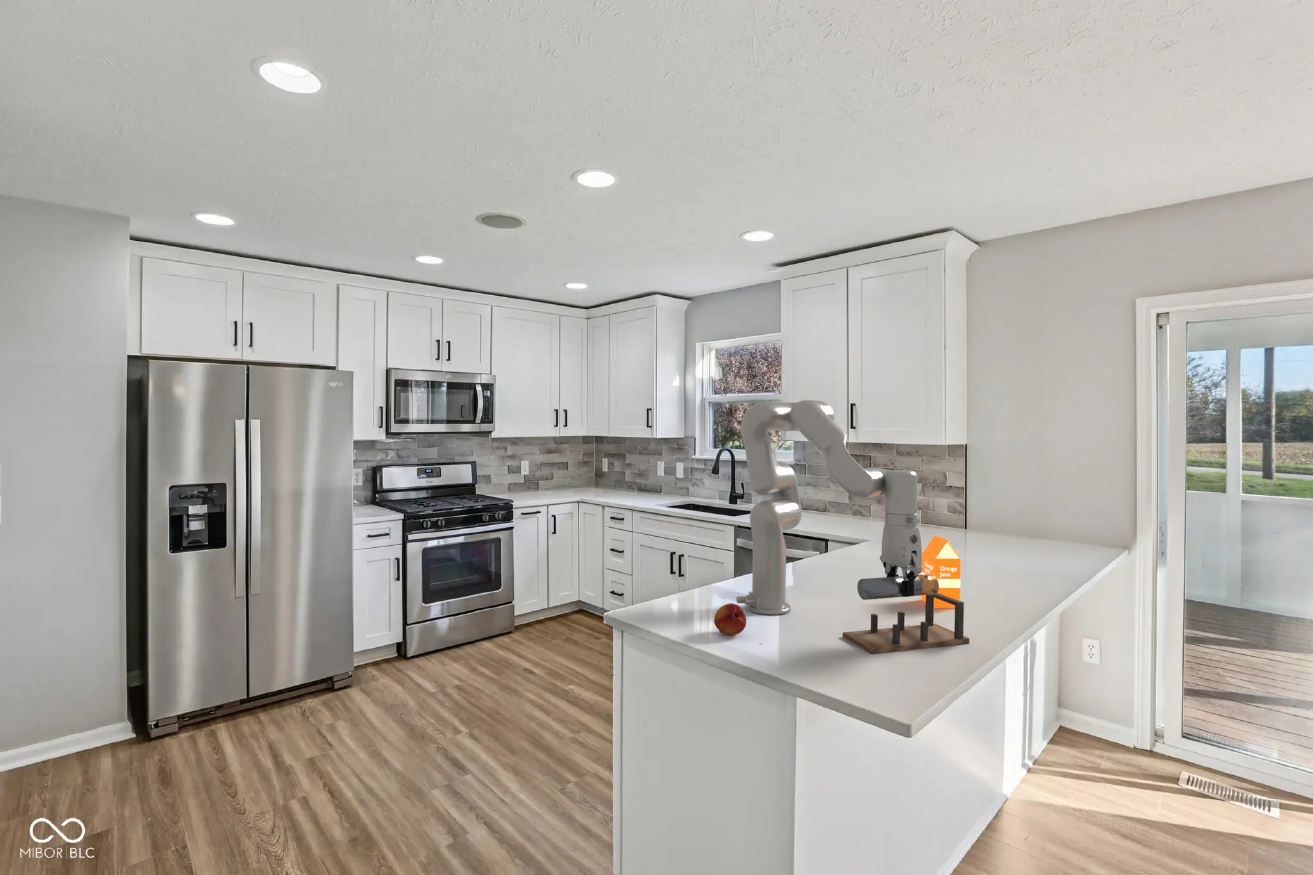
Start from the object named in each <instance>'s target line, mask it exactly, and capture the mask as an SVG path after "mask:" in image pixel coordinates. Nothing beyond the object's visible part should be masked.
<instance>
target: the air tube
mask: <svg viewBox="0 0 1313 875" xmlns="http://www.w3.org/2000/svg"><path fill="white" fill-rule="evenodd" d="M902 580H904V579H903V575H899V576H896V577H887V576H884V577H869V578H861V579H859V580H858V581H857V585H856V586H857V593H858V596H859V598H861V600H863V601H867V600H868V601H869V600H879V599H894V598H903V597H902V595H901V591H902V588H901V585H902ZM938 590H939V583H938V580H937V578H936V577H935V576H934V575H932V574H925V575H922V574H918V576H917V577H916V580H914V596H913V597H917V596H918V597H919V596H920V597H921V595H933V594H936V593H937V592H938Z"/></svg>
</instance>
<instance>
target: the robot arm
mask: <svg viewBox="0 0 1313 875" xmlns="http://www.w3.org/2000/svg"><path fill="white" fill-rule="evenodd" d="M834 420H835V413H834V410H833V408H832V406H831V405H830V404H828V403H827V402H825V401H821V400H811V399H805V400H804V399H803V400H800V401H798V402H783V401H782V402H781V401H766V400H765V401H759V402H757V403H754V404H752V405H751V406H750V407H749V408H748V409H747V410H746V412H745V413H744V415H743V417H742V420H741V425H740V428H741V429H740V430H741V436H742V441H743V444H744V445H743V446H744V451H745V458H746V466H747V471H748V472H747V473H748V479H749V480H748V481H749V485H750V489H751V490H752V492H753V493H755V494H756V495H759V496H770V497H771V499H766V500H761V501H759V502H757V503H755V505H754V506H753V507H752V509H751V510H750V515H749V524H750V528H751V537H752V576H751V577H752V581H751V582H752V585H751V586H752V587H751V588H752V589H751V590H752V591H748V594H746V596H744V595H741V596H740V595H739V596H736V598H735V601H736V603H737V604H744V605H746V608H747V610H748V611H751V612H753V613H757V614H761V615H769V616H771V615H772V616H774V615H777V616H778V615H784V614H788V613H789V612H791V610H792V609H791V608H792V605H790V604H789V603H788V602H786V594H787V593H786V586H787V580H786V578H787V546H786V541H785V537H784V533H783V532H784V531H789V530H791V529H795V528H796V527H797V526H798V525H799V524H800V522H801V520H802V515H803V514H802V513H803V511H802V505H801V497H800V491H799V484H798V478H797V475H796V472H795V470H794V469H793V468H792V466H790V464H788V463H786V462H782V461H778V460H777V456H776V448H775V444H774V442H773V439H772V438H771V436H770V435H769V432H800V433H801V435H802V436H803V437H804V438H805V439H806V440H808V442H809V443H810V444H811V445H812V446H813V448H815V450H817V451H818V453H819V454H821V456H822V460H823V462H824V465H825V467H826V469H827V471H828V474H830V476H831V477H832V478H833V479H834V480H835V482H836V483H837V484H838V485H839V486H840V487H841V488H842V489H843V490H844V491H845V492H846V493H847V494H848V495H850V496H852V497H853V498H855V499H859V500H866V499H871V498H879V497H884V525H883V529H882V530H883V531H882V537H881V554H880V557H879V560H880V561H881V563H882V566H883V568H884V573H885V574H884V575H886V577H896V576H900V575H899V574H898V569H899V568H900V569H901V572H902V576H903V579H904V580H902V585H901V588H902V591H901V595H902V597H901V598H908V597H909V598H910V597H915V596H914V580H916V577H917V576H918V575H921V574H922V571H923V569H922V552H923V549H922V548H923V546H922V538H921V533H920V528H919V527H918V475H917V472H915V471H913V470H909V469H907V470H903V469H893V470H892V469H886V468H880V467H868V468H864V467H862V465H861V464H860V463H858V461H856V459H854V458H853V456H852V455H851V454H850V453H849V451H848V449H847V445H846V443H847V440H848V435H847V433H846V432H845V431H844V430H843V429H842V428H841V426H839V425H838V424H837V423H836V422H835V421H834ZM908 571H909V572H908Z"/></svg>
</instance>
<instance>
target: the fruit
mask: <svg viewBox="0 0 1313 875" xmlns="http://www.w3.org/2000/svg"><path fill="white" fill-rule="evenodd" d="M713 624H714V626H715V627H716V629H717V630H718V631H719V633H720V634H722V635H725V636H736V635H738V634H741V633H742V632H743V631H744V629H745V628H746V627H747V617H746V613H745V612H744V610H743V608H742V607H741V606H740V605H738V604H736V603H732V602H731V603H730V602H729V603H725V604H723V605H722V606H720V607H719V608H718V609H717V610H716V612H715V614H714V619H713Z"/></svg>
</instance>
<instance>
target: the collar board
mask: <svg viewBox="0 0 1313 875" xmlns="http://www.w3.org/2000/svg"><path fill="white" fill-rule="evenodd" d="M934 598H936V599H939V600H941V601H944V602H947V603H949V604H952V605H955V608H954V631H953V630H951V629H950V628H947V627H944V626H941V625H939V624H937V623H934V615H935V614H934V611H935V608H934ZM924 612H925V615H924V616H925V617H924V621H920V624H918V625H906V626H905V618H906V617H905V615H906V614H905V612H903V611H897V621H896V622H897V623H896V624H892V627H886V628H885V627H884V628H879V627H878V625H879V622H878V621H879V617H878V616H879V615H878V614H876V613H870V629H863V630H854V631H843V632H842V638H843V639H845V638H846V639H845V640H847V641H848V640H849V642H850V643H852V644H854V645H855V644H856V646H857V645H858V646H857V647H859V648H860V649H862V650H864V651H866V652H867V653H870V654H871V655H873V654H882V653H891V652H901V651H910V650H912V651H913V650H920V649H928V648H929V649H930V648H937V647H939V648H940V647H947V646H955V645H965V644H970V638H969V637H967V636H965V635H964V623H965V622H964V620H965V619H964V616H965V615H964V614H965V613H964V612H965V602H963V601H962V600H960V601H959V600H956V599H953V598H950V597H948V596H945V595H942V594H939V593H936V594H933V595H926V602H925V611H924Z"/></svg>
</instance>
